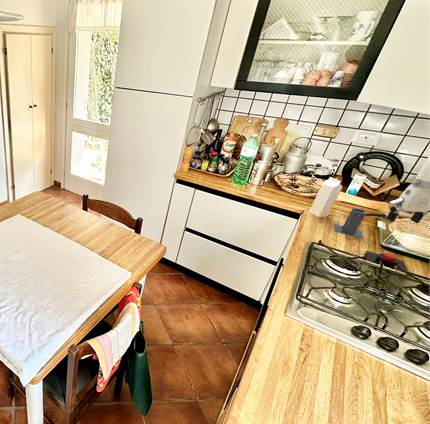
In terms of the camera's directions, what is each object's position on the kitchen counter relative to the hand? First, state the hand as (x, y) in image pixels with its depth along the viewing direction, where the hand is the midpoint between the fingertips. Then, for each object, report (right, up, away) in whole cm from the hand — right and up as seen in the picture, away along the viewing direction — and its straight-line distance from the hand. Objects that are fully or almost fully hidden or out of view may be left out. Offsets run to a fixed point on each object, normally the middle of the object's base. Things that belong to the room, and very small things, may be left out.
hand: (401, 220), depth 131 cm
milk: (-3, +2, +39) cm, 39 cm away
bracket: (-1, -7, +23) cm, 24 cm away
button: (-7, -16, -1) cm, 18 cm away
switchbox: (-7, -19, +1) cm, 20 cm away
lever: (+3, +1, +15) cm, 16 cm away
